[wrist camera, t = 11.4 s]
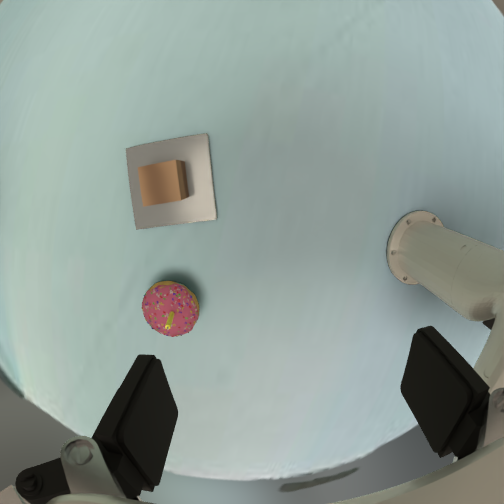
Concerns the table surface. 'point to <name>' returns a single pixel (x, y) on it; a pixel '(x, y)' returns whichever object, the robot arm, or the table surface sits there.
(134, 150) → the slate coaster
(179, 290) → the cupcake
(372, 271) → the table surface
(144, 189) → the walnut cube
